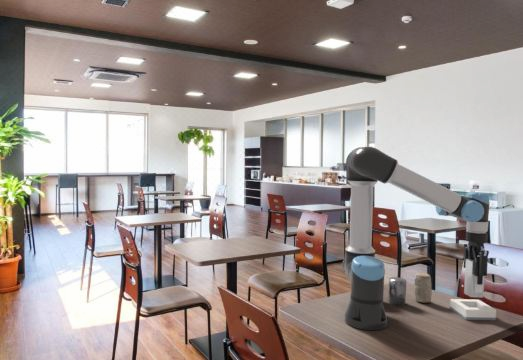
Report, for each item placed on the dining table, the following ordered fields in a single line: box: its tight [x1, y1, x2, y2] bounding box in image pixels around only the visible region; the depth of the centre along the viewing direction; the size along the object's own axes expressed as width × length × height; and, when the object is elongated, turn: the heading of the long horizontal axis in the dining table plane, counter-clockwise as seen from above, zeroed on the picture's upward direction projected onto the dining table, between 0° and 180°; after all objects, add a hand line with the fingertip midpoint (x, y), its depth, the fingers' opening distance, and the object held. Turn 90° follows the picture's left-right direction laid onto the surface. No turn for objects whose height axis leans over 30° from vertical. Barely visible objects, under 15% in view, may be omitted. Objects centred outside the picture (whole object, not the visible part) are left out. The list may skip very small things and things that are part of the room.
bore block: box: [449, 298, 497, 321], centre depth 166 cm, size 12×12×4 cm
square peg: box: [463, 259, 485, 298], centre depth 165 cm, size 5×5×14 cm
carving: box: [413, 272, 433, 304], centre depth 179 cm, size 6×8×12 cm
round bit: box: [387, 276, 407, 307], centre depth 176 cm, size 7×7×10 cm
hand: (473, 289), depth 165 cm, fingers closed on square peg, 5 cm apart
